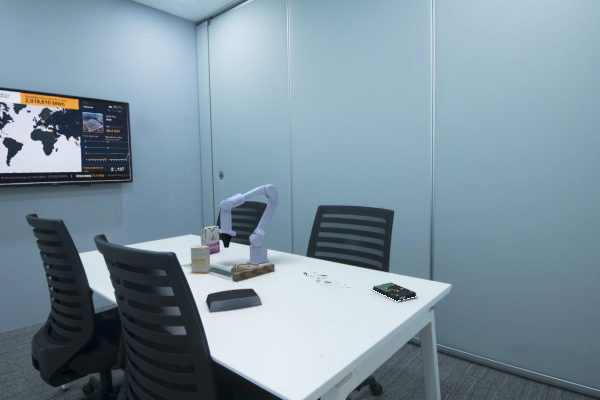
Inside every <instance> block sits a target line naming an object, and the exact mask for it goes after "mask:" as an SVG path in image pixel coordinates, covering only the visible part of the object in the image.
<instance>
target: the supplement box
mask: <svg viewBox="0 0 600 400" xmlns="http://www.w3.org/2000/svg"><path fill="white" fill-rule="evenodd" d="M210 255H211V254H210V251H209V246H201V245H193V246H191V247H190V265H191V266H190V267H191V273H192V274H208V273H210V272H211V257H210Z"/></svg>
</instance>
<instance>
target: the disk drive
mask: <svg viewBox="0 0 600 400" xmlns="http://www.w3.org/2000/svg"><path fill="white" fill-rule="evenodd" d="M373 290H375V291H377V292H379V293H381V294H383V295H386V296H387V297H390V298H392V299H394V300H396V301H398V300H403V299H407V298H411V297H415V296H416V297H417V292H415V291H413V290H410V289H408V288H406V287H403V286H401V285H398V284H396V283H393V282H386V283H382V284H380V285H374V286H373V287H372V291H373ZM387 297H386V298H387Z"/></svg>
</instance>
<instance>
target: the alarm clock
mask: <svg viewBox="0 0 600 400" xmlns="http://www.w3.org/2000/svg"><path fill="white" fill-rule="evenodd" d="M259 266H260V265H259V264H251V263H240V264H237V263H235V264H233V265H232V267H231V268H230V272H231V273H236V272H240V271H244V270H248V269H251V268H255V267H259Z"/></svg>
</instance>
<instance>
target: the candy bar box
mask: <svg viewBox="0 0 600 400" xmlns="http://www.w3.org/2000/svg"><path fill="white" fill-rule="evenodd" d="M217 229H220V225H219V226H218V225H210V226H205V227H201V228H200V246H209V251H210V255H213V254H217V253H220V252H221V251H220V247H221V246H220V233H217Z"/></svg>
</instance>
